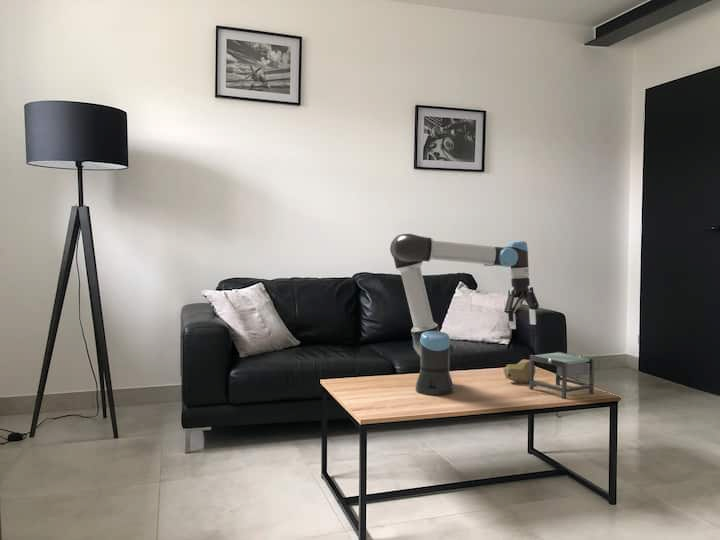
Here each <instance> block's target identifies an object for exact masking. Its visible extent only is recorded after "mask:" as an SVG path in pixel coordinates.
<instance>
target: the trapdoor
mask: <svg viewBox="0 0 720 540" xmlns="http://www.w3.org/2000/svg"><path fill="white" fill-rule="evenodd" d="M563 353H564V352H562V353H557V352H551V353H541V354H535V355H534V354H533V355H534V356H539V357H544V358H548V359H553V360H558V361H562V362H567V377H572V376H578V375H585V374H588V373H587V371H588V370H587V369H588V363H587V362H588V361H590V359H588V358H589V357H587V358H583V357H584V356H582V357H578V356H579V355H577V356H573V355H574V354H572V355H568V354H569V353H567V354H563ZM557 375H559V376H560V377H562V367H558V366H557Z"/></svg>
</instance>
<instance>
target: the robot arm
mask: <svg viewBox="0 0 720 540" xmlns="http://www.w3.org/2000/svg"><path fill="white" fill-rule="evenodd" d="M389 247H390V248H389V249H390V250H389V251H390V254H391V256H392V258H393V261H394V266H395V269H396V270H398V271H399V272H400V276H401V279H402V283H403V287H404V292H405V296H406V299H407V300H406V301H407V304H408V308H409V313H410V316H411V320H412V321H411V322H412V325H413V326H412V328H411V329H410V332H411V336H412V347H413V349H414V351H415V352H416V354H417V355H418V356H419V357H420V365H419V367H420V368H419V369H420V370H419V374H418V377H417V380H416V383H415V391H416V392H418V393H420V394H423V395H431V396H445V395H450V394H453V393H454V384H453V381H452V376H451V374H450V358H451V357H450V353H451V352H450V350H451V349H450V348H451V347H450V345H451V341H450V340H451V339H450V336H449V334H448V333H446V332H443V331H440V329H439V325H438V323H436V322H435V321H434V320H433V315H432V310H431V307H430V302H429V301H430V300H429V298H428V293H427V289H426V284H425V281H424V276H423V272H422V269H421V266H422V265H423V263H424V262H427V263H428V262H431V261H432V260H435V261H444V262H445V261H446V262H457V263H467V264H478V265H484V266H485V267H492V266H497V267H505V268H509V267H510V277H511V280H510V282H511V287H512V288H513V289H508V293H507V294H508V295H507V300H506V304H505V307H504V313H505V314H508V315H507V317H508V323H509V329H511V330H516V329H517V325H516V324H517V322H516V313H515V310H516V309H517V306H518V304H519V302H520V301H521V300H524V301H525V303H526V304H527V305H528V307H529V312H528V313H529V314H528V315H529V316H528V317H529V325H534V326H536V325H537V310H538V309H539V307H540V305H539V302H538V299H537V297H536V294H535V292H534V287H532V286H530V285H531V284H530V281H531V280H530V278H529V276H530V272H529V271H530V270H529V250H528V249H529V248H528V243H527V242H526V241H524V240H523V241H521V240H520V241H519V240H518V241H511V242H509V243H508V246H503V247H502V246H492V245H491V246H490V245H480V244H469V243H460V242H452V241H450V242H449V241H441V240H434V239H433V238H432V237H427V236H420V235H417V234H413V233H400V234H399V235H396V236H395V237H394V238H393V239H392V241H391V243H390V246H389Z"/></svg>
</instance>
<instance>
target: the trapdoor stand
mask: <svg viewBox="0 0 720 540" xmlns="http://www.w3.org/2000/svg"><path fill="white" fill-rule="evenodd" d="M556 353H563V354H568V355H573V356H578V357H583V358H588V359H590V361H588V362H587V364H589V372H588V373H589V377H588V379H589V380H588V382H583V381H580V380H576V379H571V378H568V376H567V362H562V361H558V360H553V359H548V358H544V357H539V356H534V354H529V360H530V372H529V383H528V385H529V386H528V387H529V388H528V389H529V390H534V388H535V387H534V386H539V387H541V388H546V389H549V390H553V391H557V392H561V399H562V400H563V399H564V400H565V399H567V393H571V392H576V391H582V390H588V393H595V392H594V389H595V386H594V385H595V358H591V357H587V356H582V354H580V355H576V354H573V353H572V354H571V353H566V352H561V351H556ZM535 362H537V363H542V364H546V365H550V366H555V367H556V368H555V385H556V386H555V385H551V384H549V383H548V384H547V383H544V382H540V381H536V380H534V379H535V378H534V377H535V375H534V366H535ZM557 366H558V367H562V376H559V375H557ZM567 383H570V384H573V385H578V386H571V387H567V386H568V385H567ZM560 385H561V387H559V386H560Z"/></svg>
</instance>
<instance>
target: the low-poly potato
mask: <svg viewBox="0 0 720 540" xmlns="http://www.w3.org/2000/svg"><path fill="white" fill-rule="evenodd" d="M529 372H530V359H524V358H522V360H520V361H519V362H518V363H515V364H514V363H512V364H511V363H510V364H509V363H508V364H507V365H506V366H505V367H504V368H503V373H504V376H505V378H506V379H508V380H510V381H512V382H515V383H516V384H529ZM535 374H536V366H535V365H534V376H535Z"/></svg>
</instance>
